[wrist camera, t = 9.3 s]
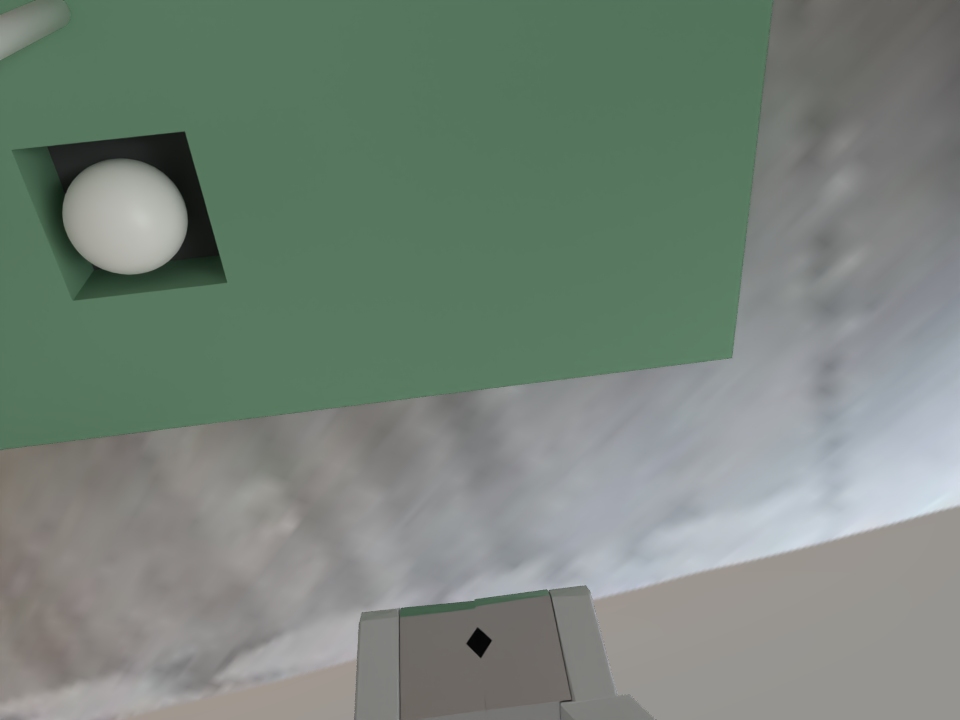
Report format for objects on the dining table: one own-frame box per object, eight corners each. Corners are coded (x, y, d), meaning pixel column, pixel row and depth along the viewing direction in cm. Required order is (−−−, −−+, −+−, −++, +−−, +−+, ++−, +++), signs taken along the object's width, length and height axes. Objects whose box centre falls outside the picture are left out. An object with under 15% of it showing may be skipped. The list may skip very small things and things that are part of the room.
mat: (752, -145, 23) (1309, -150, 9) (708, 325, 32) (962, 685, 18) (-237, -52, 22) (-1310, 105, 8) (-1, 412, 30) (-317, 874, 17)
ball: (192, 152, 24) (79, 192, 22) (222, 260, 26) (121, 306, 24) (131, 136, 26) (23, 170, 24) (163, 237, 28) (65, 276, 26)
